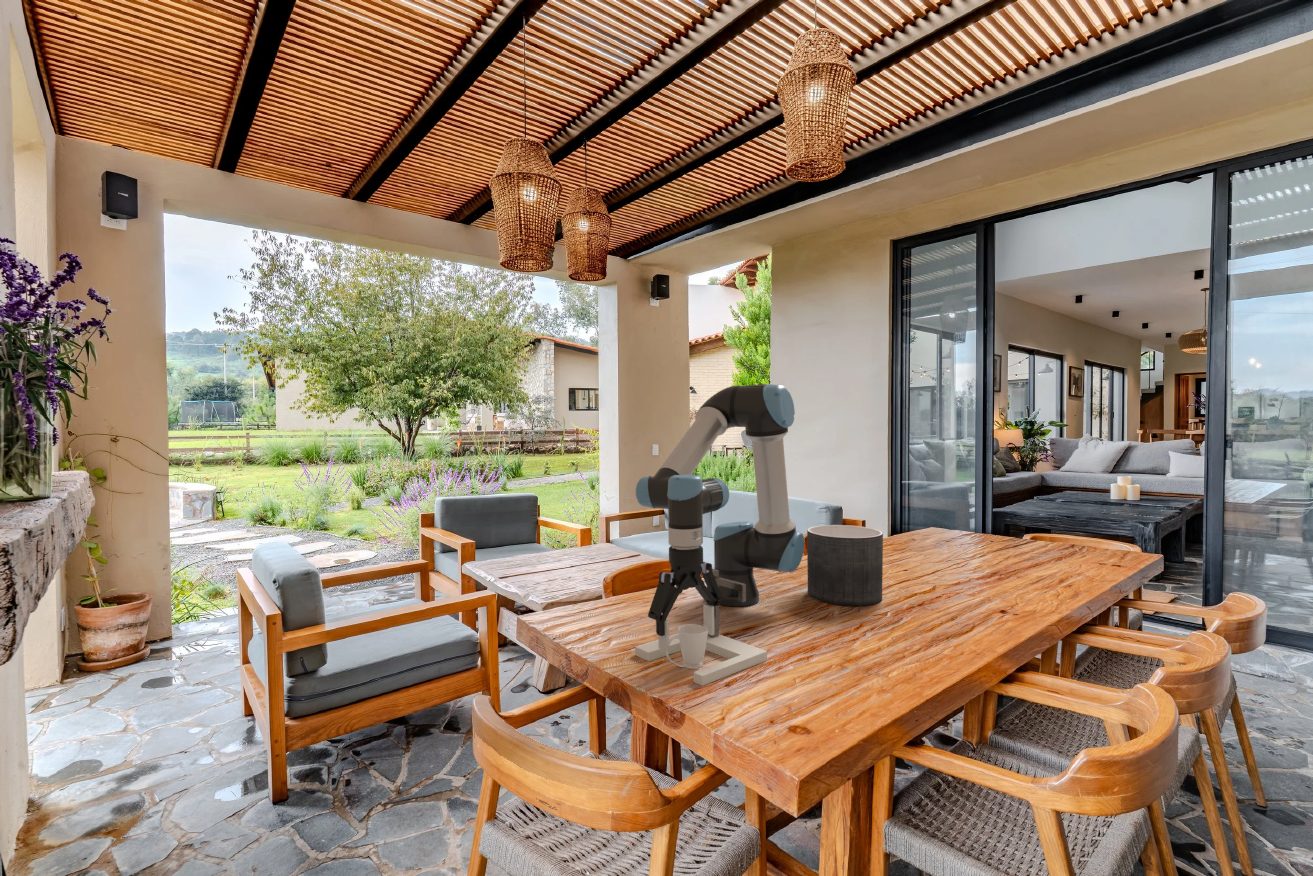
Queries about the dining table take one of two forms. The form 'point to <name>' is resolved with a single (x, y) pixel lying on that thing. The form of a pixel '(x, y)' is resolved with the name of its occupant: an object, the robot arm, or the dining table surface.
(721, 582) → the hook arm
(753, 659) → the flat u-shaped bracket
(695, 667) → the cup
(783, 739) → the dining table surface
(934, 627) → the dining table surface
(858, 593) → the planter
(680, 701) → the dining table surface
